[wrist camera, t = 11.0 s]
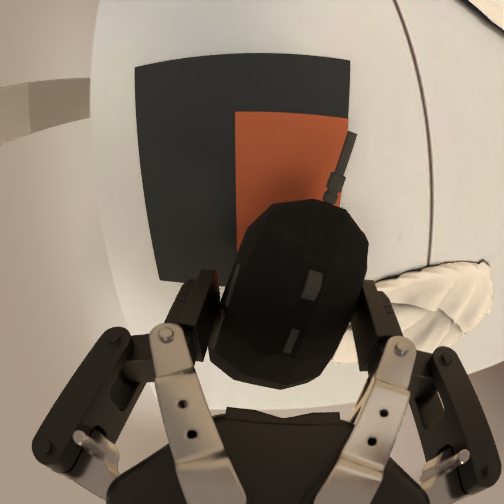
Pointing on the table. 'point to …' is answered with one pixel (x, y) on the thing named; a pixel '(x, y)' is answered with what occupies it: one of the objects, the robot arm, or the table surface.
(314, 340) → the gaming mouse
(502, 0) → the plate
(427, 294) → the cloth
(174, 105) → the mat
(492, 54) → the table surface
